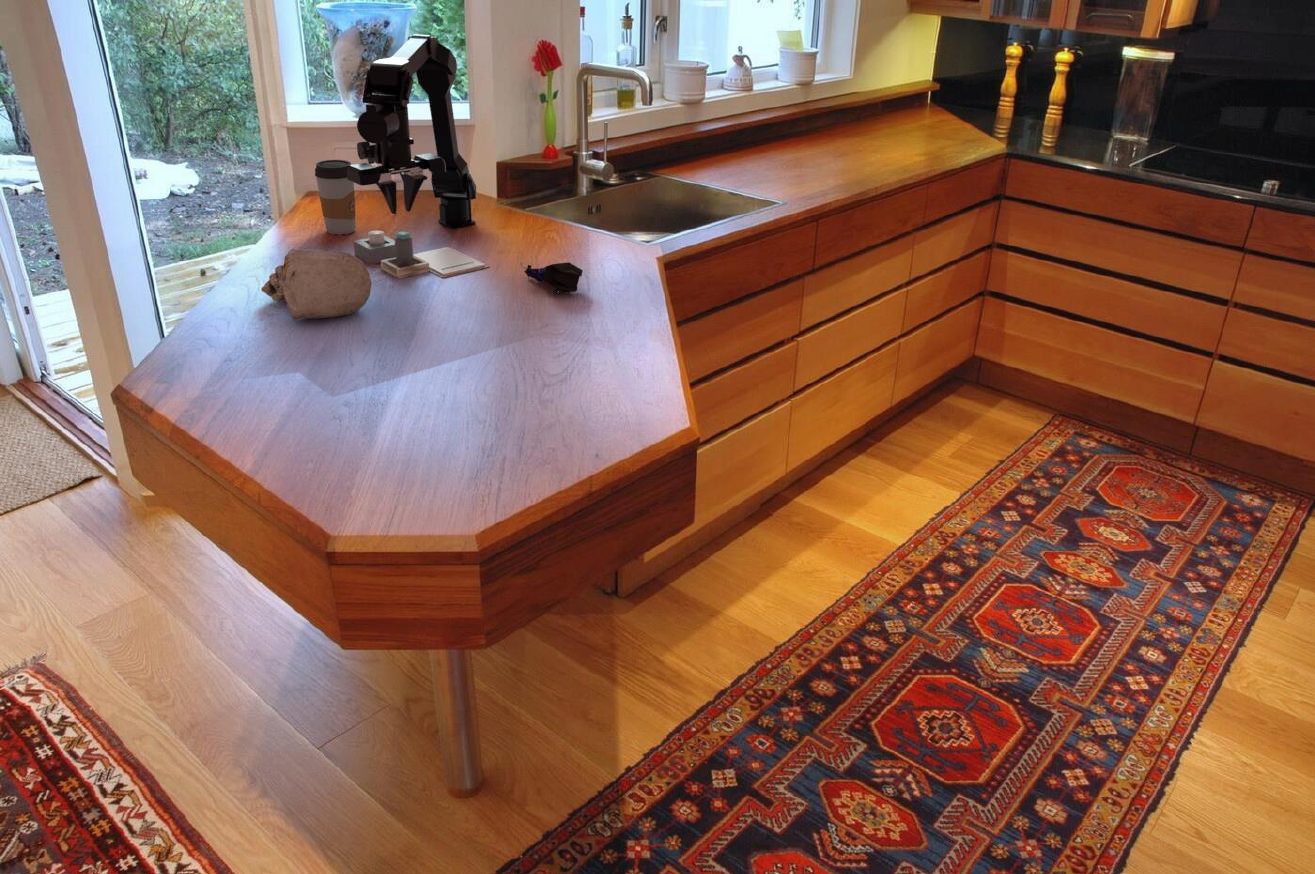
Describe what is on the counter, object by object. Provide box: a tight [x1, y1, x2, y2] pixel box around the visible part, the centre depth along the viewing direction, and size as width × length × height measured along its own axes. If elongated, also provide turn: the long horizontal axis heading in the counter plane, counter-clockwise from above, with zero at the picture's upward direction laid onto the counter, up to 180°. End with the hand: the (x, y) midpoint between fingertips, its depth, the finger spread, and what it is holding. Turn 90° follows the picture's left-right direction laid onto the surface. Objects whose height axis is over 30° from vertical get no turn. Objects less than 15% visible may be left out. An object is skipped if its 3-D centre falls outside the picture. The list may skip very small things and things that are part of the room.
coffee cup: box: [314, 159, 357, 236], centre depth 222 cm, size 8×8×15 cm
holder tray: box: [380, 255, 430, 279], centre depth 205 cm, size 7×7×2 cm
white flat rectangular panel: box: [413, 246, 490, 279], centre depth 210 cm, size 11×15×1 cm
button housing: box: [353, 235, 396, 264], centre depth 211 cm, size 7×7×3 cm
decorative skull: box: [261, 247, 373, 320], centre depth 183 cm, size 12×18×20 cm
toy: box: [519, 261, 584, 294], centre depth 199 cm, size 9×6×15 cm
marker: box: [394, 231, 414, 268], centre depth 203 cm, size 3×3×7 cm
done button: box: [367, 230, 385, 246], centre depth 210 cm, size 3×3×3 cm
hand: (400, 212), depth 199 cm, fingers open, 3 cm apart
